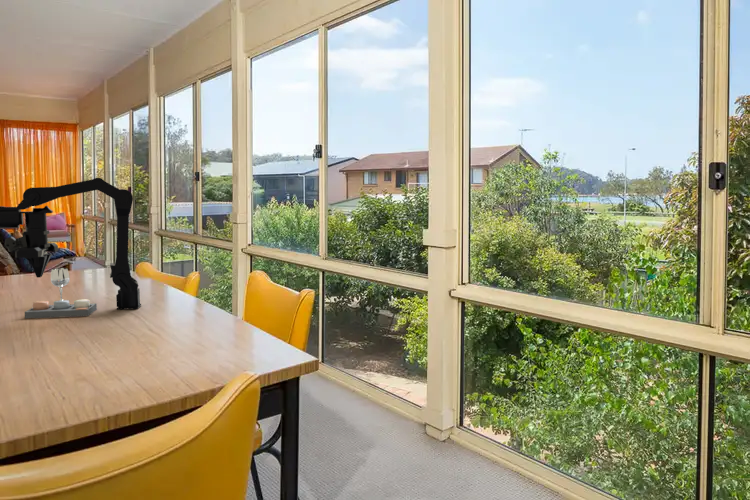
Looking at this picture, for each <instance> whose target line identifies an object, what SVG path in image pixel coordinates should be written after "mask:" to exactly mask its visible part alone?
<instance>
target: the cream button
mask: <svg viewBox="0 0 750 500" xmlns="http://www.w3.org/2000/svg"><path fill="white" fill-rule="evenodd" d="M90 302H91V301H90V299H76V300H74V302H73V304H74V309H77V308H86V307H88V308H89V307H90V304H91V303H90Z"/></svg>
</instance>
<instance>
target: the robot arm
mask: <svg viewBox="0 0 750 500" xmlns="http://www.w3.org/2000/svg"><path fill="white" fill-rule="evenodd" d="M92 191H99V192H101V193H103V194H104V195H106V196H108V197H109V198H112V199H113V201H114V202H113V203H114V208H115V213H116V245H115V246H116V247H115V249H116V250H115V261H114V263H111V262H110V273H109V278H110V279H111V278H112V283H113V284H114V285H115V286H116V287H118V288H119V289H118V290H117V294H116V307H117V308H116V309H117V310H134V309H135V310H137V309H139V308H140V307H141V306H142V303H141V299H140V298H141V297H140V296H141V295H140V293H141V291H140V288H139V282H138V280H136V279H135V278H134V277H133V276H132V274H131V267H130V262H129V228H130V223H129V222H130V221H129V220H130V214H131V210H132V206H133V200H134V196H133V194H132V192H131V191H130V190H128V189H126V188H125V189H124V188H123V189H122V188H121V189H119V188H118V187H116V186H114V185H112V184H110V183H108V182H107V181H105V179H103V178H102V177H95V178H92V179H88V180H84V181H83V180H82V181H79V182H73V183H68V184H67V183H66V184H63V185H58V186H42V187H38V186H37V187H36V186H35V187H29V188H27V189H25V191H23V194H22V200H21V201H20V202H19V203H18V204H17V206H3V205H0V229H20V227H21V225H22V226H23V225H24V222H25V231H23V232H22V236H21V237H16V238H15V237H14V236H9V237H7V238H5V239H4V240H5V241H4V243H3V244H4V246H3V247H4V248H6V249H7V250H8V252H9V253H11V252H14V253H15V254H14V255H15V256H14V257H15V258H16V259H19V258H21V259H25V260H27V261H28V262H30V264H31V267H32V270H33V271H34V274H35V277H36V278H42V277H43V275H44V273H45V270H46V268H47V266H48V263H49V261H50V259H51V257H52V256H53V254H52V253H48V252H53V253H56V252H59V245H58V244H57V243H55V242H49V241H48V235H49V234H50V230H49V229H48V224H47V221H48V220H47V214H53V213H54V210H52V209H51V208H50V207H49V206H48V205H45V206H44V207H38V206H41V205H44V204H47V203H50V202H51V201H52V202H53V201H54V200H56V199H60V198H64V197H65V198H66V197H68V196H73V195H74V196H75V195H78V194H83V193H89V192H92ZM31 207H33V208H32V211H30V210H29V211H22V210H27V209H29V208H31ZM24 220H25V221H24Z"/></svg>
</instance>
